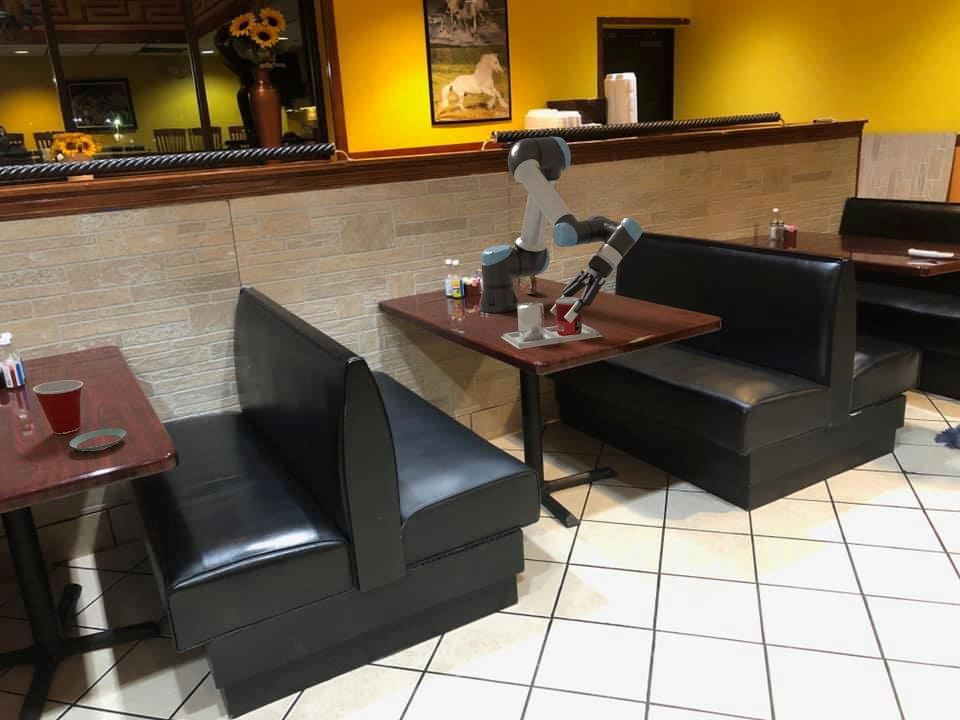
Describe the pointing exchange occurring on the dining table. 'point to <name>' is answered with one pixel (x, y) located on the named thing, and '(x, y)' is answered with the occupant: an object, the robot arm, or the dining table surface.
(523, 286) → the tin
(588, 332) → the divided white tray
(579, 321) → the canned food
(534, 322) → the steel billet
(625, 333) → the dining table surface
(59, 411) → the plastic cup
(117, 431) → the saucer
